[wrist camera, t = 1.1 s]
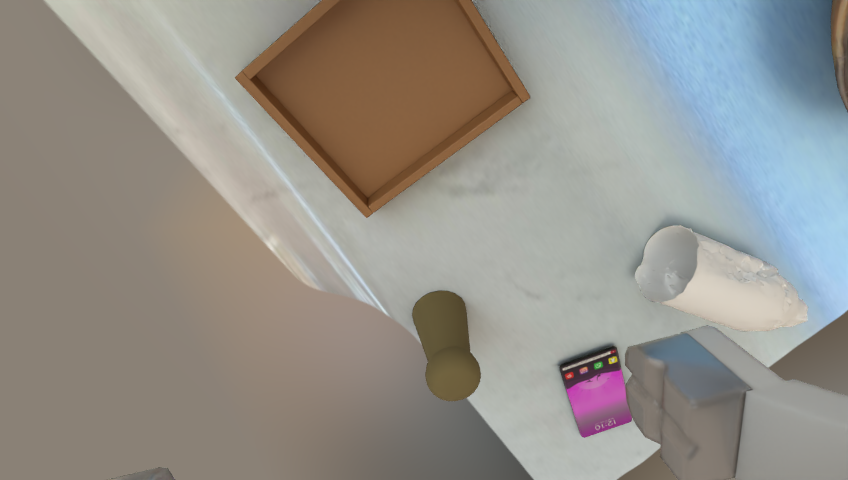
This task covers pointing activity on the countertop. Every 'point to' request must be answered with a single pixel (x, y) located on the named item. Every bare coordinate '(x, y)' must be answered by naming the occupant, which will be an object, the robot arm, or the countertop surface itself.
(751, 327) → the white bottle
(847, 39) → the bowl
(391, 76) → the tray
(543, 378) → the countertop surface
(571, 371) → the smartphone
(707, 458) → the robot arm
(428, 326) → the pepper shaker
